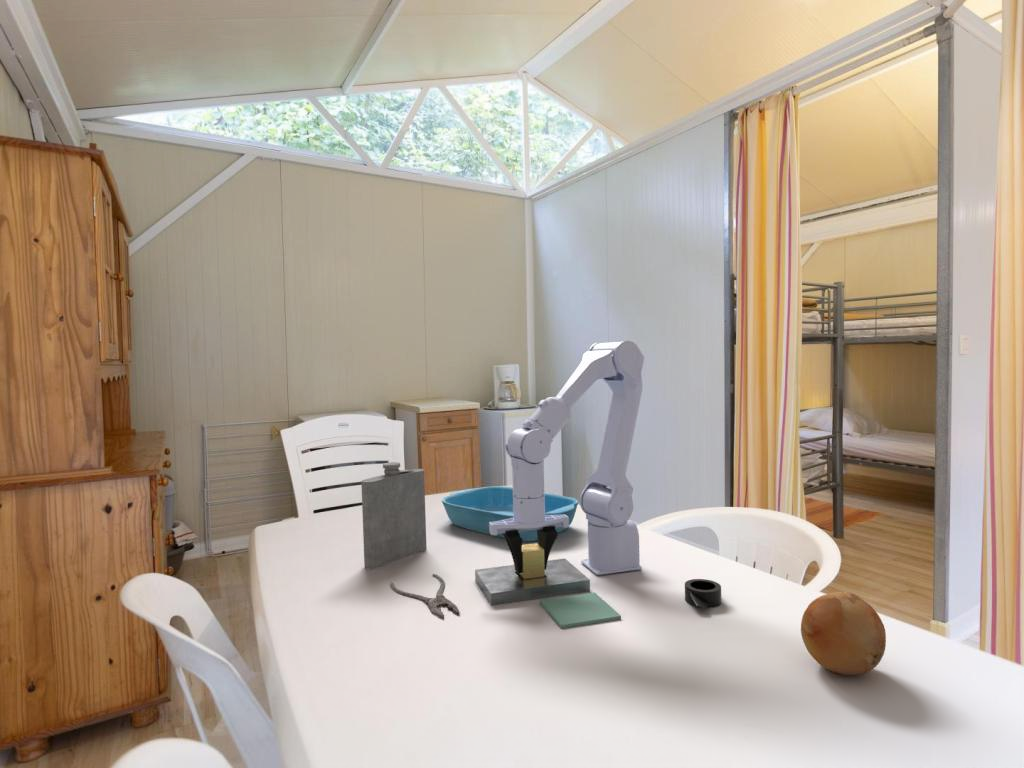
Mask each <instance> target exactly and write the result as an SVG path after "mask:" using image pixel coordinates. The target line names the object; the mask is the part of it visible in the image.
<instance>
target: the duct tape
mask: <svg viewBox="0 0 1024 768" xmlns="http://www.w3.org/2000/svg"><path fill="white" fill-rule="evenodd" d="M684 601H685V602H686V603H687V604H688V605H691V607H692V606H693V607H696V608H703V609H706V610H710V609H713V608H718V607H720V606H721V605H722V585H721V584H720V583H719V582H717V581H715V580H711V579H704V578H694V579H693V578H692V579H689V580H686V581H685V582H684Z"/></svg>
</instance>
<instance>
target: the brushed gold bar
mask: <svg viewBox="0 0 1024 768" xmlns="http://www.w3.org/2000/svg"><path fill="white" fill-rule="evenodd" d="M521 560H522V573H517V576H518V577H519V578H520V579H521V580H522V581H525V580H533V579H540V578H545V566H544V549H543V548H542V547H541V546H540V545H538V542H534V543H528V544H522V550H521Z"/></svg>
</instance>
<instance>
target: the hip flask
mask: <svg viewBox="0 0 1024 768" xmlns="http://www.w3.org/2000/svg"><path fill="white" fill-rule="evenodd" d="M399 468H401V463H400V462H397V461H396V462H392V461H391V462H385V463H383V464H382V469H384V470H383V472H384V474H382V475H378V476H374V477H373V476H372V477H369V478H366V479H362V480H361V482H360V483H361V485H360V486H361V506H362V508H361V509H362V510H361V511H362V532H363V533H362V535H363V538H362V539H363V558H364V559H363V560H364V561H363V562H364V564H363V565H364V569H367V570H368V569H369V570H373V569H377V568H378V569H379V567H382V566H384V565H386V564H389V563H391V562H394V561H396V560H399V559H402V558H404V557H407V556H410V555H413V554H418V553H421V552H424V551H426V550H427V521H426V519H427V518H426V497H425V496H426V495H425V494H426V491H425V490H426V489H425V485H426V484H425V469H423V468H413V469H412V468H411V469H408V468H407V469H399Z"/></svg>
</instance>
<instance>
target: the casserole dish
mask: <svg viewBox="0 0 1024 768" xmlns="http://www.w3.org/2000/svg"><path fill="white" fill-rule="evenodd" d="M544 495H545V515H563V514H565V515H566V516H568V517H569V527H570V525H571V524H572V522H573V520H574V518H575V514H576V511H577V508H578V504H579V500H578V499H576V498H575V497H569V496H565V495H560V494H553V493H548V492H544ZM441 503H442V505H443V507H444V510H445V512H446V515H447V518H448V519H449V521H450V522H451V523H452V524H453V525H454V526H457V527H458V528H462V529H465V528H466V530H470V531H474V532H478V533H482V534H486V535H489V534H490V533H489V522H495V521H500V520H505V519H509V518H514V517H513V486H512V487H510V486H500V485H499V486H498V485H496V486H495V485H493V486H483V487H476V488H467V489H462V490H459V491H455V492H451V493H450V494H449V495H447V496H445V497H443V498H442V499H441ZM567 528H568V527H566V528H563V527H556V528H555V530H556V531H557V534H558V533H561V532H563V531H565V530H567ZM518 533H519V534H520V537H521V538H522V539H523V540H522V542H535V541H538V537H537V530H528V531H519V532H518ZM490 536H492V535H491V534H490ZM493 537H498V538H503V539H505V538H504V536H503V534H502V533H501V534H498V535H494V536H493Z"/></svg>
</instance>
